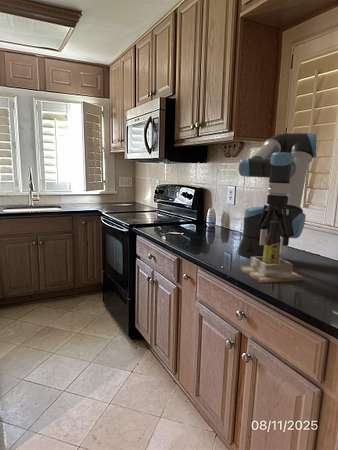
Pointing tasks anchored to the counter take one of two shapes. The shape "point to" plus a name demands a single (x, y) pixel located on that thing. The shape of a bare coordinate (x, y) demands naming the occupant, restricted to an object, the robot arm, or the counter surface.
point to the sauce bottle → (272, 244)
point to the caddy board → (270, 271)
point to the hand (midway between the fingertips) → (272, 249)
